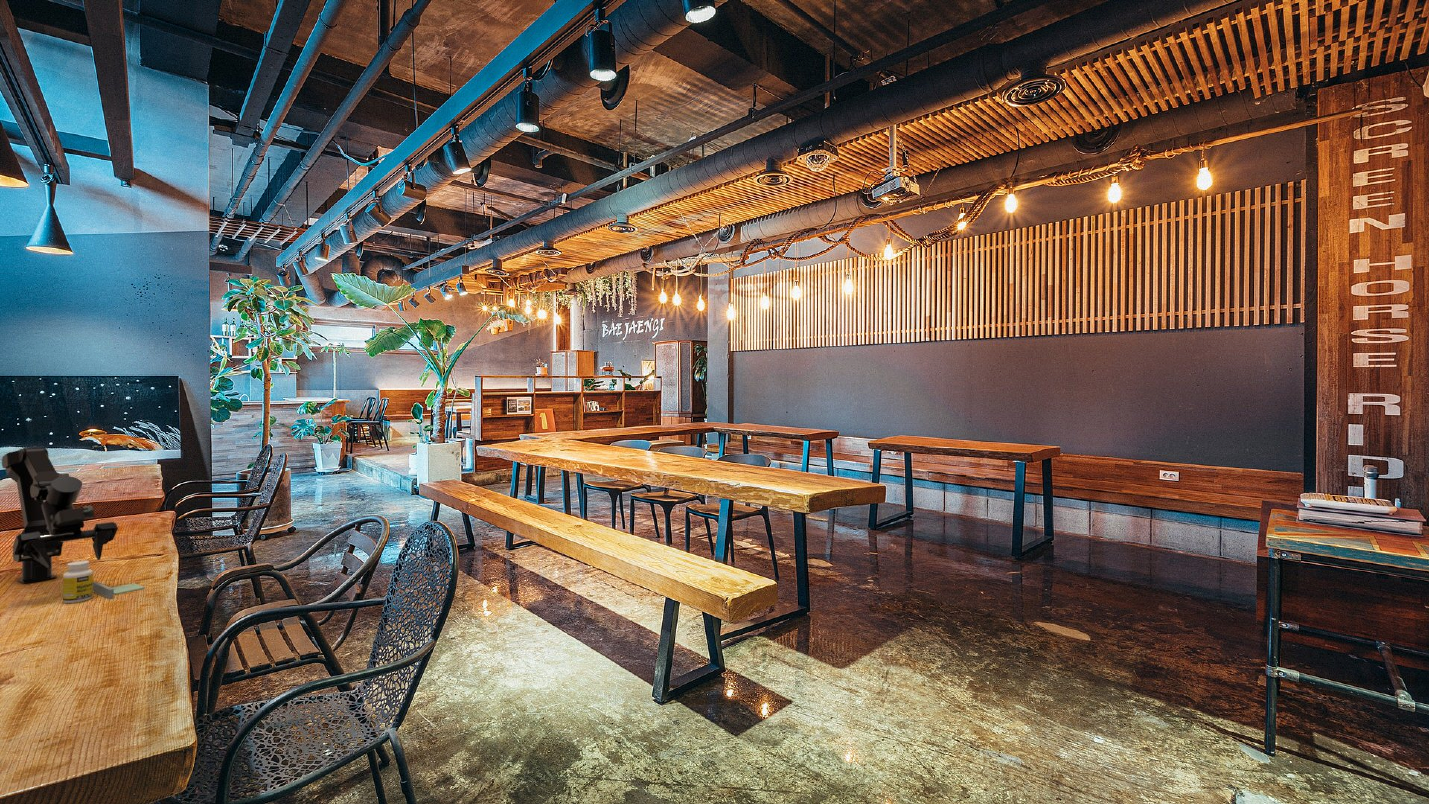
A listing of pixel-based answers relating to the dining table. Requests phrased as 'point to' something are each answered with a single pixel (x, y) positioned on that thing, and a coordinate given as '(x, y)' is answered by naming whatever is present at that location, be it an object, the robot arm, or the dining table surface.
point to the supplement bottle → (77, 582)
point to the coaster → (127, 588)
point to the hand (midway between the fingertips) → (75, 563)
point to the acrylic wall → (103, 590)
